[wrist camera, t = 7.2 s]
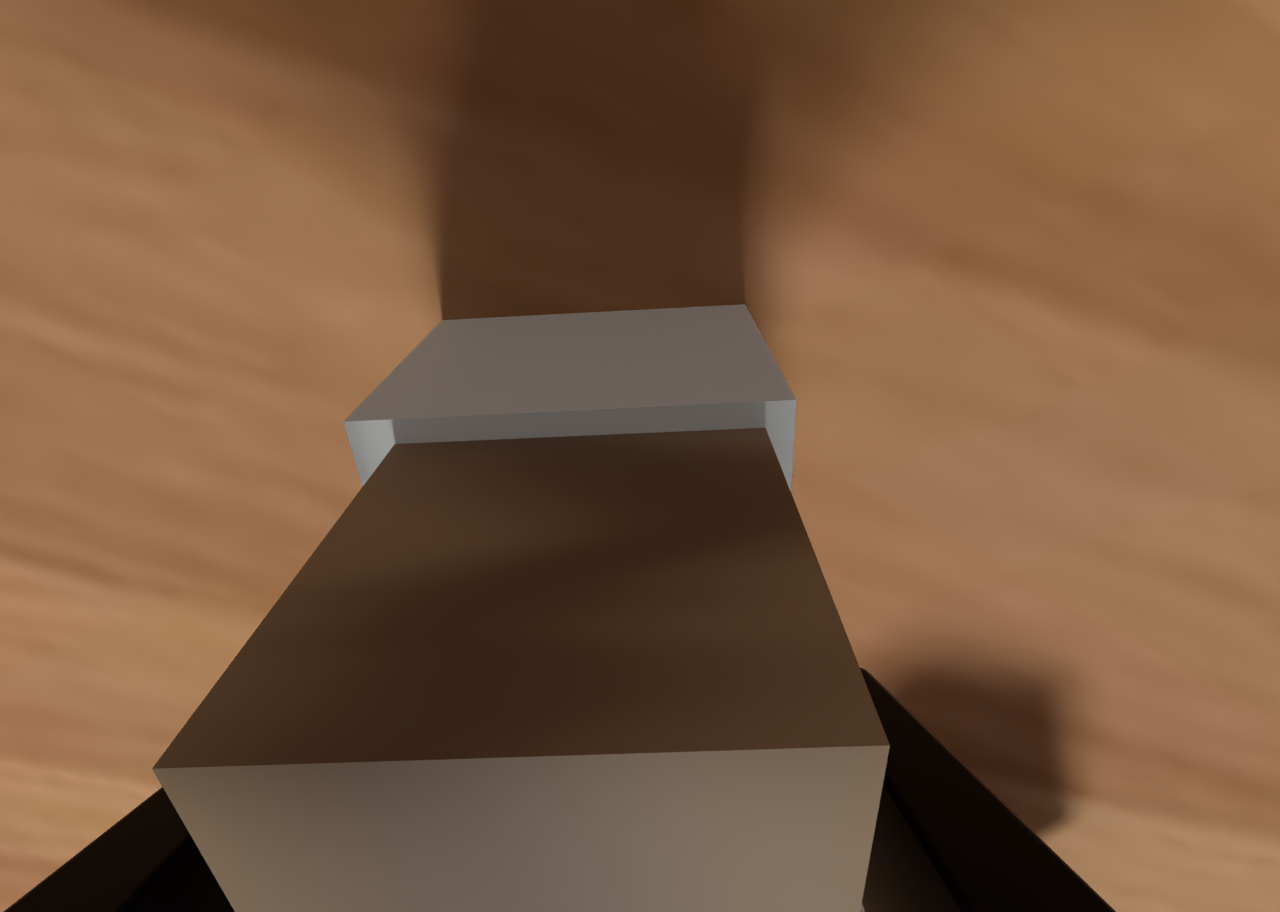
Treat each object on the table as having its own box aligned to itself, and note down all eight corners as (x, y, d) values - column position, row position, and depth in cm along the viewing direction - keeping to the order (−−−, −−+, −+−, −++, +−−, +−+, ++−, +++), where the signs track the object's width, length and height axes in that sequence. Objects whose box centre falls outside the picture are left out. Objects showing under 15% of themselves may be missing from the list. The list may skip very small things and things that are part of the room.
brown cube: (765, 427, 9) (888, 745, 4) (754, 697, 11) (829, 1085, 7) (394, 444, 9) (152, 769, 5) (459, 707, 11) (339, 1095, 7)
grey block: (744, 302, 13) (796, 399, 9) (739, 552, 16) (777, 722, 11) (443, 318, 13) (344, 421, 9) (490, 562, 16) (432, 734, 12)
